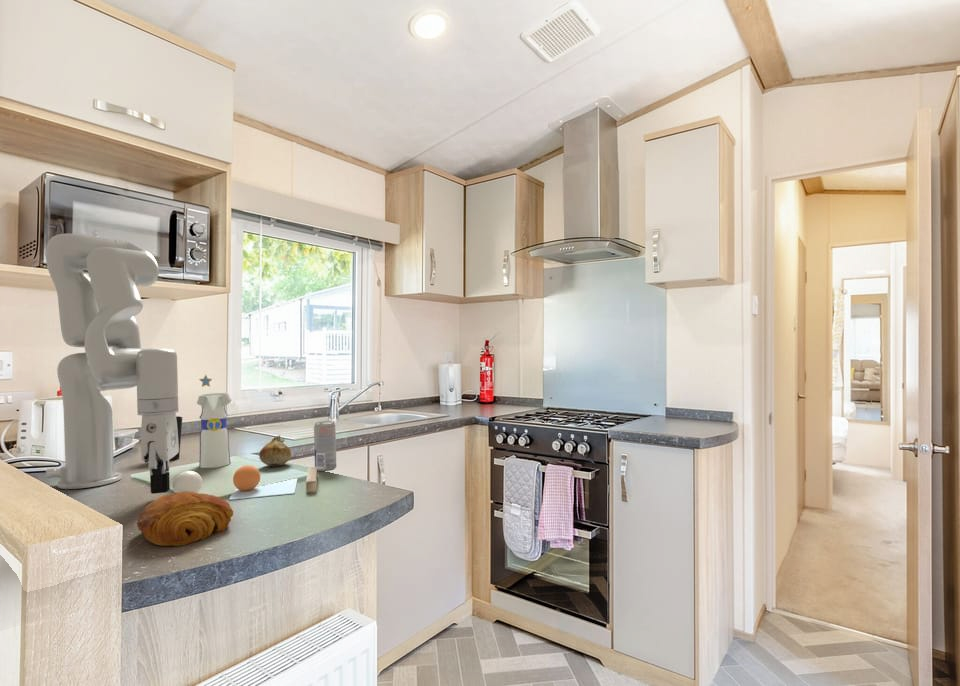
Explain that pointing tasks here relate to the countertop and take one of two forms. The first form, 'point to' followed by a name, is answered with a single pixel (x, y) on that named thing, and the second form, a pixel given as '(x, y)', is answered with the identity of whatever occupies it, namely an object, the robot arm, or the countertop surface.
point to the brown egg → (246, 478)
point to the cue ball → (187, 482)
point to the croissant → (184, 518)
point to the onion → (275, 452)
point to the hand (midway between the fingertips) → (160, 491)
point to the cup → (179, 426)
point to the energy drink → (325, 445)
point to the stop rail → (311, 480)
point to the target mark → (267, 490)
